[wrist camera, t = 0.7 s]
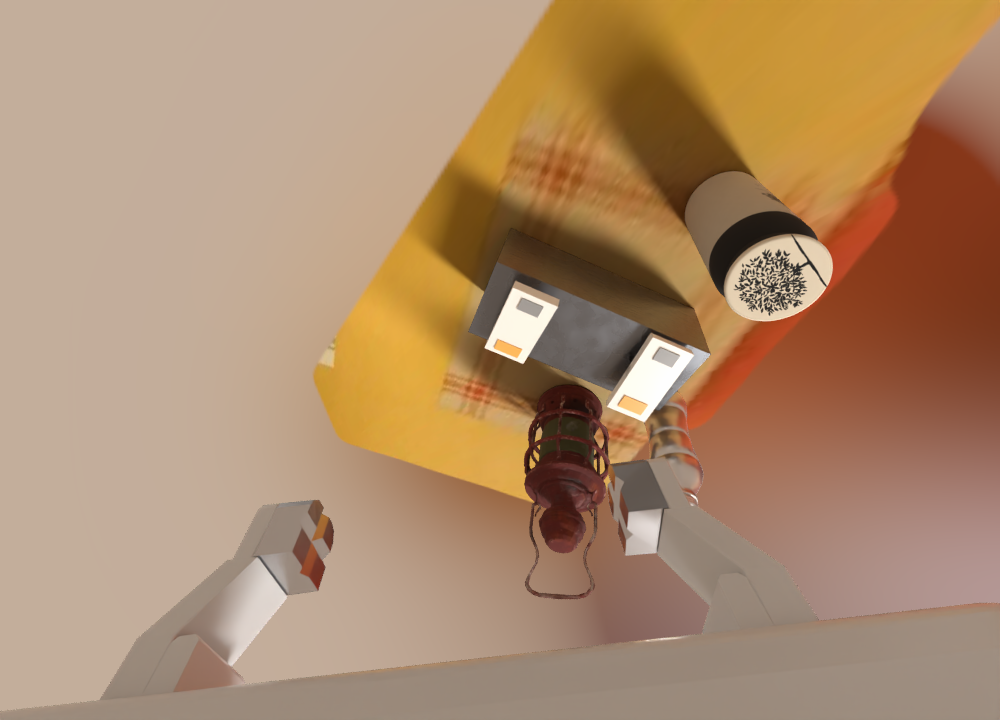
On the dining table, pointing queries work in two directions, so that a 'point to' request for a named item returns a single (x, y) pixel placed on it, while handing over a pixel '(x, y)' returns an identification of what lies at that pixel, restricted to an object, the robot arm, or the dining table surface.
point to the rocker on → (521, 322)
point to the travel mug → (756, 248)
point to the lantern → (566, 470)
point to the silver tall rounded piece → (675, 445)
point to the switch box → (589, 314)
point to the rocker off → (649, 377)
